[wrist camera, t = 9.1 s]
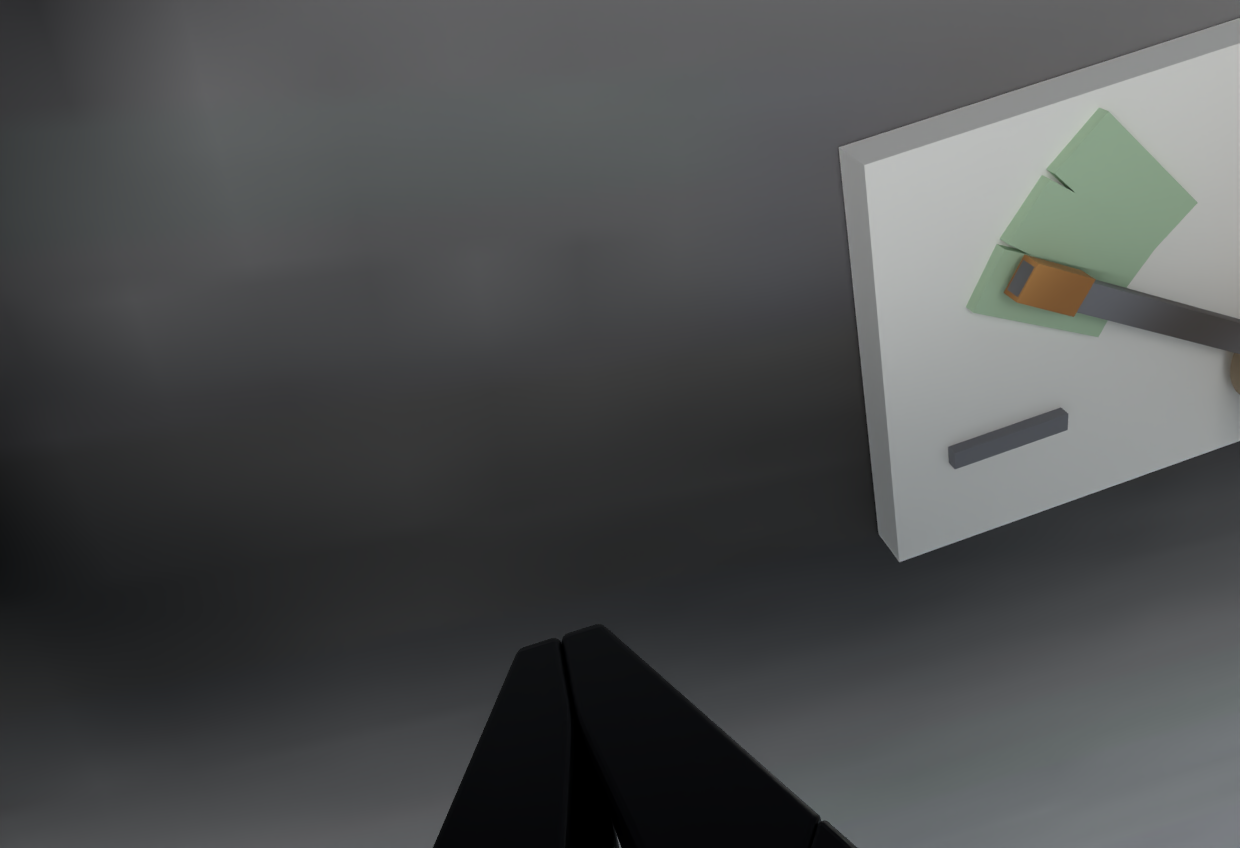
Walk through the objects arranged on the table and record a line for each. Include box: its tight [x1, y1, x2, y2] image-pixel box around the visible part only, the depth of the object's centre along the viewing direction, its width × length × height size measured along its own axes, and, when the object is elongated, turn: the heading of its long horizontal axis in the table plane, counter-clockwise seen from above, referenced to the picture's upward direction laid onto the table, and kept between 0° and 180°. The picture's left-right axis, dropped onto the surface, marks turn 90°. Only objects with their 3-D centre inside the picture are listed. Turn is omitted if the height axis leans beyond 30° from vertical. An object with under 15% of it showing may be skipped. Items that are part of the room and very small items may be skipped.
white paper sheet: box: [839, 18, 1240, 562], centre depth 23 cm, size 13×11×2 cm
